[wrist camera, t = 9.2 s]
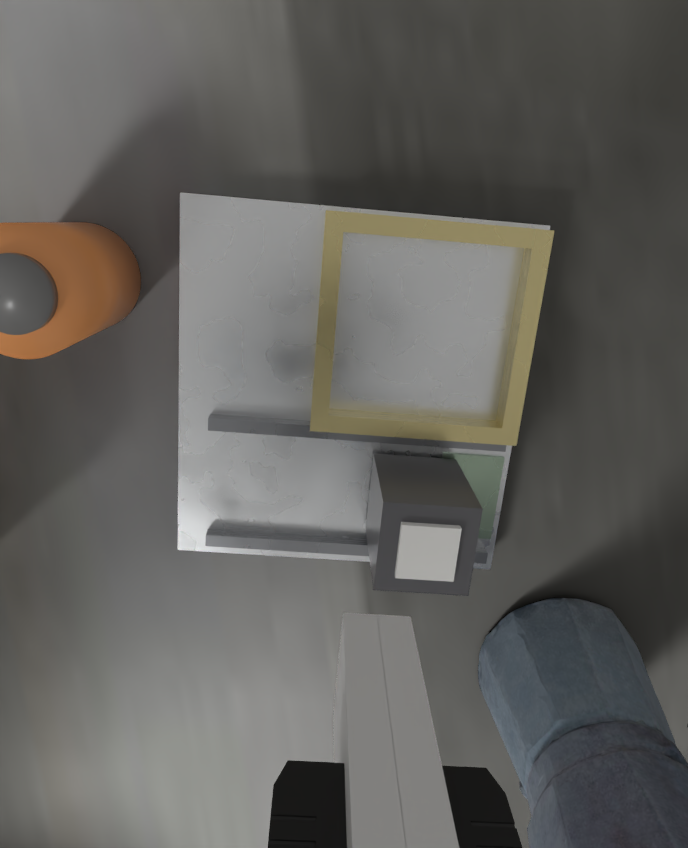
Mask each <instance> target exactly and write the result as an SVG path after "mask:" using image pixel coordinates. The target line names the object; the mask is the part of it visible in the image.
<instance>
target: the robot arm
mask: <svg viewBox="0 0 688 848" xmlns="http://www.w3.org/2000/svg"><path fill="white" fill-rule="evenodd" d="M333 745H334V763H330V762H308V761H287V763H286V765H285V766H284V768H283V770H282V772H281V773H280V775H279V777H278V779H277V780H276V782H275V784H274V787H273V798H272V808H271V820H270V829H269V840H268V848H522V845H521V842H520V839H519V835H518V832H517V829H515V826H514V819H513V816H512V813H511V810H510V807H509V803H508V800H507V797H506V794H505V792H504V791H503V790H502V788H501V787H500V786H499V784H498V783H497V782H496V780H495V779H494V778H493V776H492V775H491V774H490V772H489V771H488V770H487V768H477V767H455V766H442V763H441V759H440V754H439V749H438V744H437V739H436V735H435V730H434V725H433V720H432V716H431V711H430V706H429V701H428V697H427V692H426V687H425V682H424V678H423V673H422V668H421V663H420V659H419V654H418V649H417V644H416V640H415V635H414V630H413V625H412V621H411V616H394V615H377V614H360V613H343V617H342V628H341V638H340V648H339V658H338V669H337V679H336V689H335V699H334V710H333Z"/></svg>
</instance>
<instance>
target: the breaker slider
mask: <svg viewBox="0 0 688 848" xmlns="http://www.w3.org/2000/svg"><path fill="white" fill-rule="evenodd" d="M482 511H483V508H482V506H481V505H480V503H479V501H478V499H477V497H476V495H475V493H474V492H473V490H472V488H471V486H470V484H469V482H468V480H467V479H466V477H465V475H464V473H463V471H462V469H461V467H460V466H459V464H458V462H457V460H456V459H443V458H429V457H415V456H401V455H387V454H373V464H372V473H371V483H370V492H369V502H368V511H367V521H366V536H367V544H368V552H369V560H370V568H371V576H372V584H373V590H380V591H397V592H414V593H430V594H447V595H463V596H468V595H469V589H470V583H471V577H472V571H473V565H474V559H475V553H476V547H477V541H478V535H479V529H480V523H481V517H482Z"/></svg>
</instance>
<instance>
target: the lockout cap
mask: <svg viewBox="0 0 688 848" xmlns="http://www.w3.org/2000/svg"><path fill="white" fill-rule="evenodd" d="M140 289H141V275H140V269H139V266H138V263H137V260H136V258H135V256H134V254H133V252H132V251H131V249H130V247H129V246H128V245H127V244H126V243H125V241H124V240H123V239H121V238H120V237H119V236H118V235H117V234H115V233H114V232H113V231H111V230H109V229H107V228H105V227H103V226H101V225H97V224H94V223H87V222H37V223H0V354H3V355H5V356H9V357H13V358H19V359H38V358H43V357H47V356H50V355H52V354H55V353H57V352H59V351H61V350H63V349H65V348H67V347H69V346H71V345H73V344H75V343H77V342H79V341H81V340H83V339H85V338H88V337H90V336H92V335H94V334H96V333H98V332H100V331H102V330H104V329H106V328H108V327H110V326H112V325H114V324H116V323H118V322H120V321H121V320H123V319H124V318H125V317H126V316H127V315H128V314H129V313H130V312H131V311H132V309H133V308H134V306H135V304H136V302H137V300H138V297H139V294H140Z"/></svg>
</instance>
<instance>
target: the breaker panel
mask: <svg viewBox="0 0 688 848" xmlns="http://www.w3.org/2000/svg"><path fill="white" fill-rule="evenodd" d="M553 236H554V230H550V226H548V225H537V224H526V223H514V222H503V221H492V220H481V219H470V218H459V217H448V216H437V215H426V214H415V213H403V212H392V211H381V210H370V209H359V208H348V207H337V206H326V205H315V204H303V203H292V202H281V201H270V200H259V199H248V198H237V197H226V196H215V195H204V194H192V193H181V192H180V262H179V426H178V550H188V551H205V552H221V553H237V554H253V555H269V556H285V557H301V558H317V559H333V560H349V561H365V562H370V560H369V552H368V544H367V536H366V521H367V511H368V502H369V492H370V483H371V473H372V464H373V454H387V455H401V456H415V457H429V458H443V459H456V460H457V462H458V464H459V466H460V467H461V469H462V471H463V473H464V475H465V477H466V479H467V480H468V482H469V484H470V486H471V488H472V490H473V492H474V493H475V495H476V497H477V499H478V501H479V503H480V505H481V506H482V508H483V511H482V517H481V523H480V529H479V535H478V541H477V547H476V553H475V559H474V565H473V568H477V569H491V563H492V557H493V552H494V546H495V540H496V534H497V529H498V523H499V517H500V512H501V506H502V500H503V494H504V489H505V483H506V477H507V472H508V466H509V460H510V454H511V449H512V446H516V445H517V440H518V434H519V428H520V423H521V417H522V411H523V406H524V400H525V394H526V389H527V383H528V377H529V372H530V366H531V361H532V355H533V349H534V344H535V338H536V332H537V327H538V321H539V315H540V310H541V304H542V298H543V293H544V287H545V281H546V276H547V270H548V265H549V259H550V253H551V248H552V242H553Z"/></svg>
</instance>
